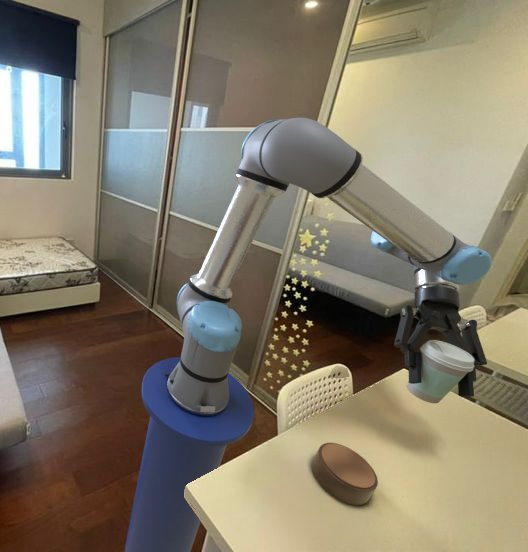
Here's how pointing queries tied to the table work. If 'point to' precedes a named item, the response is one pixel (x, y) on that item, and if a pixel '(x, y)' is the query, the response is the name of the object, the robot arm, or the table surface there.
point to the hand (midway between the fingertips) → (440, 389)
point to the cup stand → (344, 473)
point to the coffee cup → (440, 370)
